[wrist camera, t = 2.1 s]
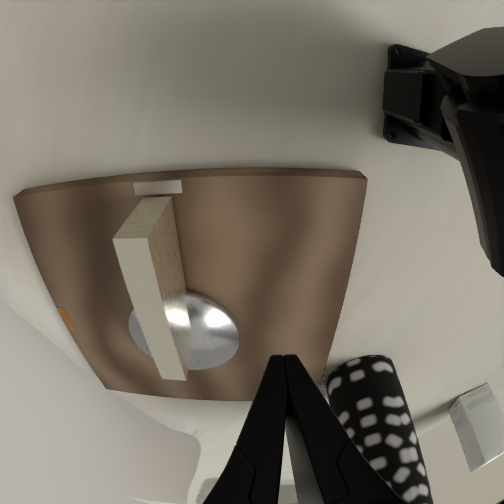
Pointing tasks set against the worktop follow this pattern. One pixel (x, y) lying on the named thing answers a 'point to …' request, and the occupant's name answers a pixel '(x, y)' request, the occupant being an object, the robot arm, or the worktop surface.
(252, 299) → the dial plate
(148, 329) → the cream block with dome
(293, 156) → the worktop surface
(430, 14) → the worktop surface
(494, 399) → the skincare box
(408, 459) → the white-spotted black cylinder
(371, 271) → the worktop surface
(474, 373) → the worktop surface
